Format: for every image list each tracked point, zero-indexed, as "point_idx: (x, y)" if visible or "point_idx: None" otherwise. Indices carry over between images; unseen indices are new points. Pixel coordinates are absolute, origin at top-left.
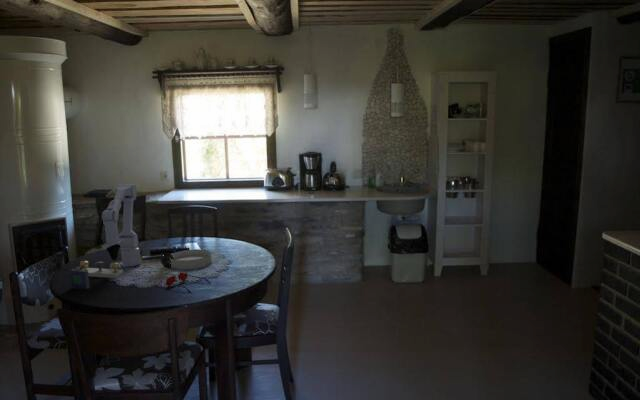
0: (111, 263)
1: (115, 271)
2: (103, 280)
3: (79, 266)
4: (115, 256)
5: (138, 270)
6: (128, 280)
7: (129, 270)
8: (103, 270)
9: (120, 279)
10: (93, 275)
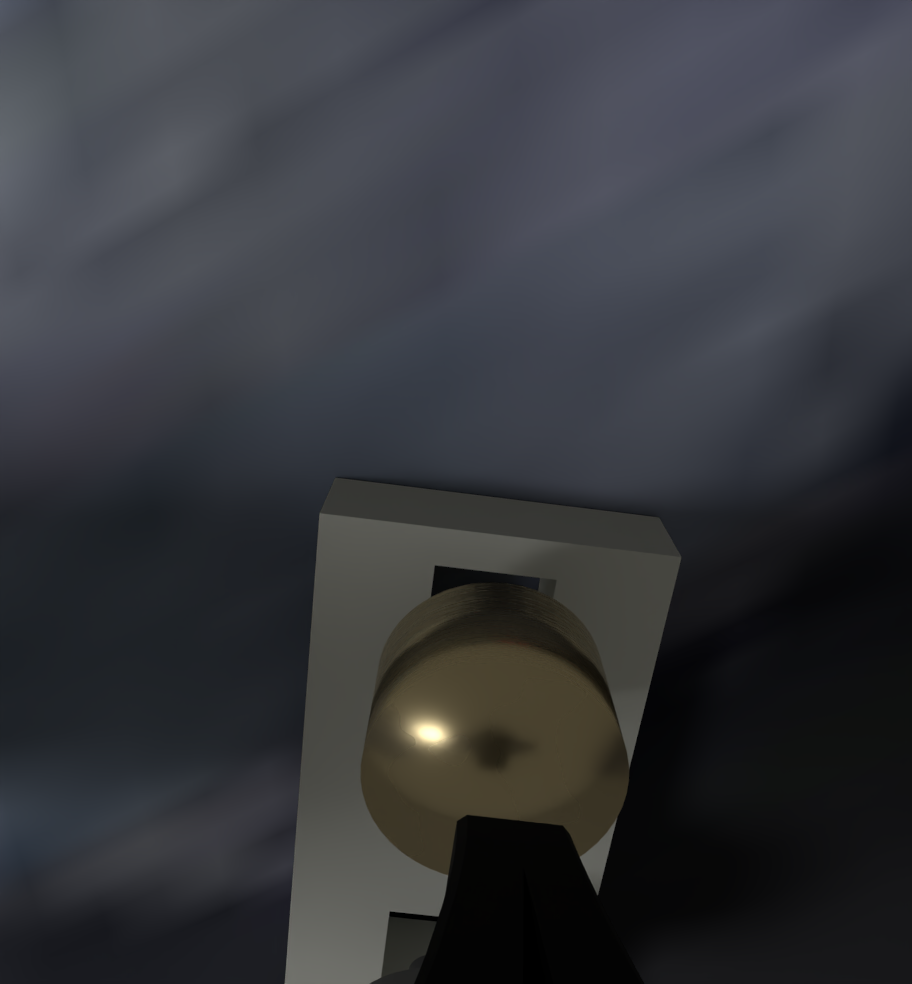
0: None
1: None
2: (808, 672)
3: None
4: (600, 934)
5: (22, 214)
6: (880, 54)
7: (75, 456)
8: (404, 910)
9: (771, 330)
10: None
